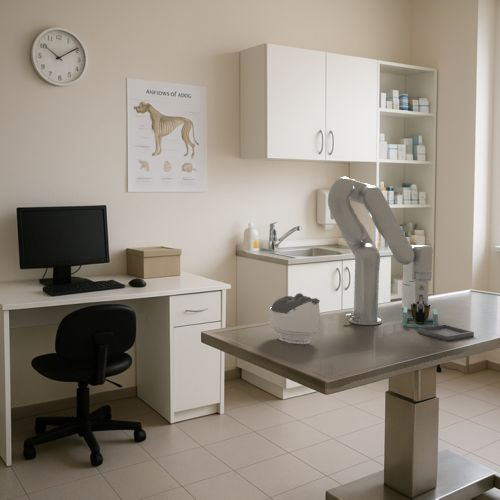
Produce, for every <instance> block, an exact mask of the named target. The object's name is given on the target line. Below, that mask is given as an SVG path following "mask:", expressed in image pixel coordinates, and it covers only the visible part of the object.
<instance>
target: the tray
mask: <svg viewBox="0 0 500 500" xmlns="http://www.w3.org/2000/svg"><path fill="white" fill-rule="evenodd" d="M417 333H418V334H422V335H423V336H428V337H430V338H434V339H437V340H440V341H444V342H450V341H457V340H463V339H467V338H473V337H474V335H475V332H474V331H473V330H468V329H465V328H461V327H457V326H453V325H450V324H446V323H442V324H437V325H435V326H433V325H432V326H429V327H423V328H420V327H417Z"/></svg>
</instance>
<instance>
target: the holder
mask: <svg viewBox="0 0 500 500" xmlns="http://www.w3.org/2000/svg"><path fill="white" fill-rule="evenodd" d="M408 310H409V309H408V307H404V308H403V311H402V313H403V314H402V327H407V328H423V327H429V326H435V325H438V317H439V314H438V308H432V318H427V319H426V320H425V322H429V323H430V322H431V323H432V325H429V324H428V325H427V324H423V325H418V324H416V323H414V324H413V323H408V321H414V322H415V321H416V320H415V319H414V318H413V317H408Z"/></svg>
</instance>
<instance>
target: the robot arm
mask: <svg viewBox="0 0 500 500" xmlns="http://www.w3.org/2000/svg"><path fill="white" fill-rule="evenodd" d="M327 196H328V197H327V205H328V209H329V212H330V214H331V216H332V218H333V219H334V222H335V223H336V225H337V227H338V229H339V231H340V232H341V235H342V238H343V239H344V241H346V244H347V246H348V247H349V249H350V251H351V253H352V254H353V256H354V259H355V261H354V262H355V263H354V289H353V290H354V291H353V292H354V293H353V295H354V296H353V300H354V301H353V310H351V312H350V313H345V314H344V319H345V320H349V322H350V323H352V324H353V325H354V324H355V325H360V326H361V325H362V326H375V325H376V326H377V325H380V324H381V323H382V318H379V317H378V315H379V290H380V288H379V286H380V285H379V283H380V282H379V281H380V280H379V278H380V266H381V265H380V264H381V255H380V252H379V249H378V248H377V246H376V245H375V243H374V241H373V239H372V238H371V236H370V235H369V233H368V231H367V229H366V228H365V225H364V223H362V222H361V221H360V219H359V217H358V215H357V214H356V212H355V210H354V207H353V206H352V205H351V202H354V203H356V204H360V205H363V206H364V207H365V210H366V212H367V213H368V215H369V217H370V219H371V220H372V221H371V222H373V225H374V226H375V228H376V230H377V231H378V232H379V234H380V235H381V236H382V237H383V240H384V241H385V243H386V244H387V246H388V247H389V250H390V251H391V254H392V257H393V259H394V260H395V261H396V262H397V263H398V264H399V265H402V266H403V265H408V264H410V263H411V262H412V280H415V304H416V305H417V312H416V322H424V317H425V312H424V304H425V305H426V306H428V305H429V291H430V290H429V289H430V287H429V286H430V282H431V281H432V279H433V278H432V276H433V275H432V273H433V251H434V250H433V246H431V245H429V244H410V242H409V240H408V238H407V237H406V235H405V233H404V231H403V229H402V227H401V225H400V223H399V221H398V219H397V217H396V215H395V213H394V212H393V210H392V209H391V206H390V204H389V203H388V201H387V199H386V197H385V195H384V193H383V191H382V190H381V189H380V187H378V186H376V185H372V184H368V183H365V182H361V181H359V180H356V179H353V178H349V177H347V176H340V177H338V178H337V179H336V180H334V182H333V184H332V185H331V187H330V189H329V192H328V194H327ZM350 201H351V202H350ZM418 303H419V304H418Z"/></svg>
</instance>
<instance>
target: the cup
mask: <svg viewBox="0 0 500 500" xmlns="http://www.w3.org/2000/svg"><path fill="white" fill-rule="evenodd" d="M418 304H419V303H418ZM410 311H411V318H414V319H415V320H416V312H417V305H416V304H415V303H413V305H412V304H411V309H410ZM430 311H431V305H430V303H428V306H426V305H425V304H424V312H425V317H424V322H416V321H414V322H415V323H414V324H417V325H425V322H426V321H425V320H426V319H429V316H430Z"/></svg>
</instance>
